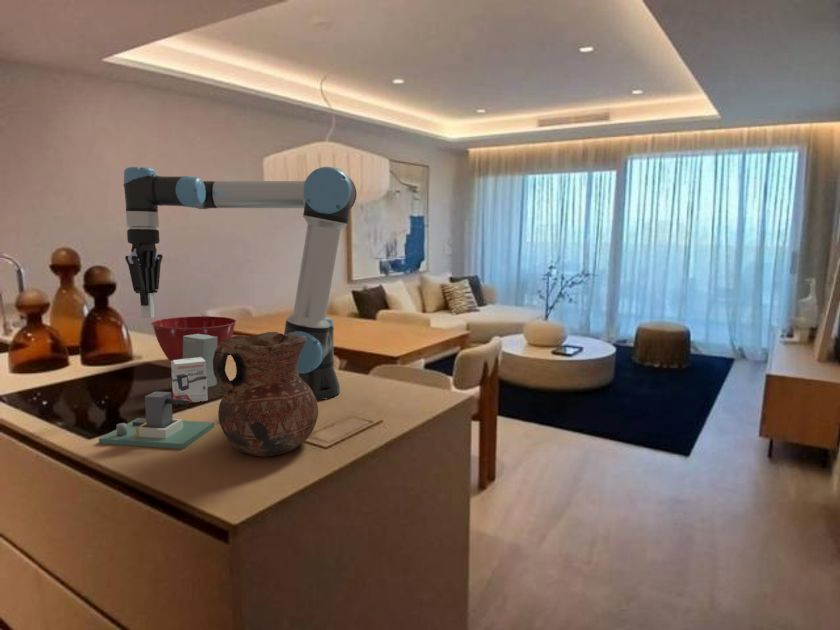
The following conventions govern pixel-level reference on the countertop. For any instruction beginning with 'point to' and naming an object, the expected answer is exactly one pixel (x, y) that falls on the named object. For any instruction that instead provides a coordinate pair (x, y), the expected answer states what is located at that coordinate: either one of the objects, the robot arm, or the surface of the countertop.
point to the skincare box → (201, 352)
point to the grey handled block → (160, 409)
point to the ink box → (189, 379)
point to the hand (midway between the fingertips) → (148, 317)
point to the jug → (264, 394)
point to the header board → (157, 434)
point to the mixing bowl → (189, 331)
